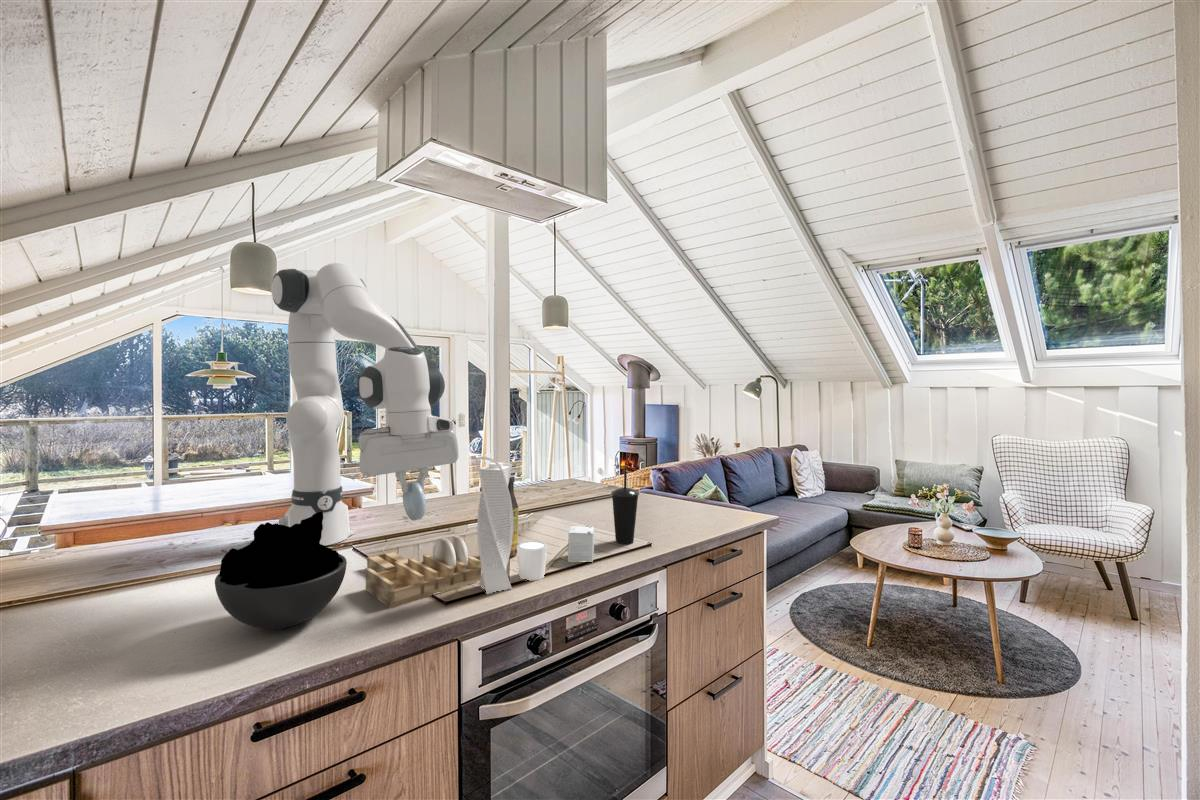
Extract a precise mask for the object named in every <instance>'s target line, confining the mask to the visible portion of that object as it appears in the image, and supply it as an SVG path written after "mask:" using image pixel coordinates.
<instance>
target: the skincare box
mask: <svg viewBox="0 0 1200 800" xmlns="http://www.w3.org/2000/svg"><path fill="white" fill-rule="evenodd" d="M567 543H568V544H567V562H568V563H575V562H580V561H581V562H582V561H588V562H592V563H593V561H594V554H595V526H580V525H579V526H576V525H573V526H572V525H571V526H570V528H569V530H568V540H567Z"/></svg>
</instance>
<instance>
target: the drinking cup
mask: <svg viewBox="0 0 1200 800" xmlns="http://www.w3.org/2000/svg"><path fill="white" fill-rule="evenodd" d="M627 471H628V469H627V468H624V470H623V487H618V488H616V489H615V490H614V489H613V490H612V491H611V492H610V494H611V496H612V509H613V510H612V511H613V524H614V535H615V537H614V538H615V543H617V544H618V543H619V544H618V545H631V543H632V544H633V543H634V542H635V541H634V539H635V529H636V521H637V511H638V509H637V508H638V502H639V500H638V499H639V495H640V492H639V491H638V490H636V489H633V488H630V487H627V484H628V483H627V481H628V479H627V478H628V477H627V476H628V475H627V473H628V472H627Z"/></svg>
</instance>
